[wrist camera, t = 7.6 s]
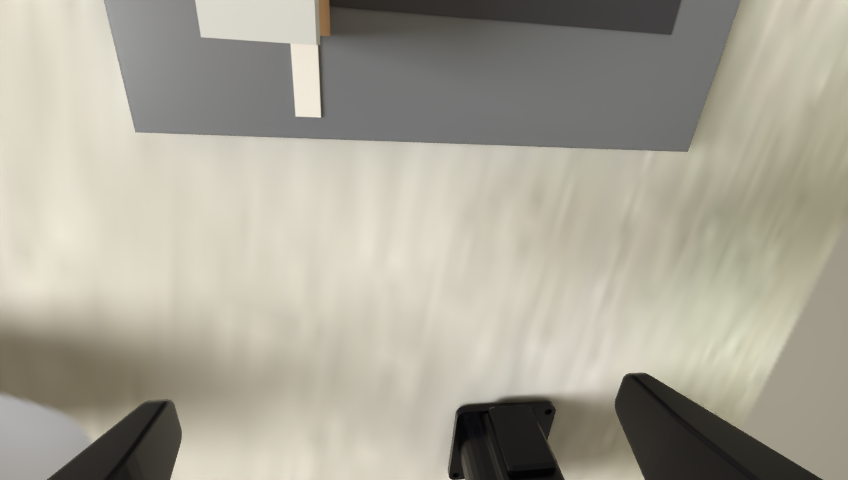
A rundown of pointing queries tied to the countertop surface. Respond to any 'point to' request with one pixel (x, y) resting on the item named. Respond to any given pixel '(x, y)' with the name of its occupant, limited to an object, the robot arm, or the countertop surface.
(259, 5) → the fader tab
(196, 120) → the console
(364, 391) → the countertop surface
